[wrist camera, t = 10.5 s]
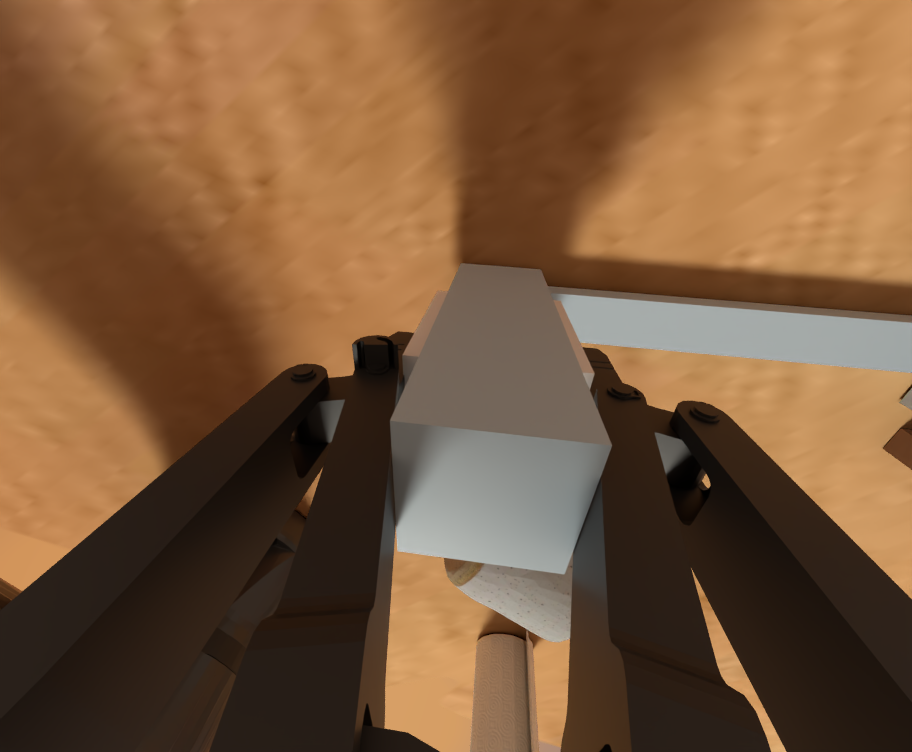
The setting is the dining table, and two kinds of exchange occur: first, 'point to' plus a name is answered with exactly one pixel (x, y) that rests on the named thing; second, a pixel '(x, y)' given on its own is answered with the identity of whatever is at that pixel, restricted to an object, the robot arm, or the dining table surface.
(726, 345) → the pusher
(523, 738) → the paper towel roll
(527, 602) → the ceramic mug
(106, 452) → the dining table surface
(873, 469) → the dining table surface
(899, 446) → the walnut table
